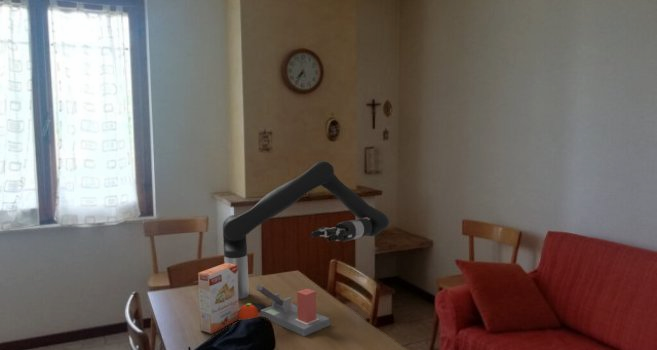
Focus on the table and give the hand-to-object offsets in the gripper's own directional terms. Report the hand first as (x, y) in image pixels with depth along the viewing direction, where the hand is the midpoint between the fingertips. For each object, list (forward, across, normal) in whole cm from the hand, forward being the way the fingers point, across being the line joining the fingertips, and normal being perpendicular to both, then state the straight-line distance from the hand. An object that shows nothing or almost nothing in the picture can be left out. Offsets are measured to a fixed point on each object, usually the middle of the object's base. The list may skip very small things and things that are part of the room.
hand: (319, 236), depth 183 cm
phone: (+20, -18, +29) cm, 40 cm away
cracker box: (+34, -15, +29) cm, 47 cm away
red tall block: (+13, +7, +26) cm, 30 cm away
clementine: (+25, -10, +29) cm, 40 cm away
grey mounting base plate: (+13, 0, +28) cm, 31 cm away
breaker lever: (+13, -6, +24) cm, 28 cm away
